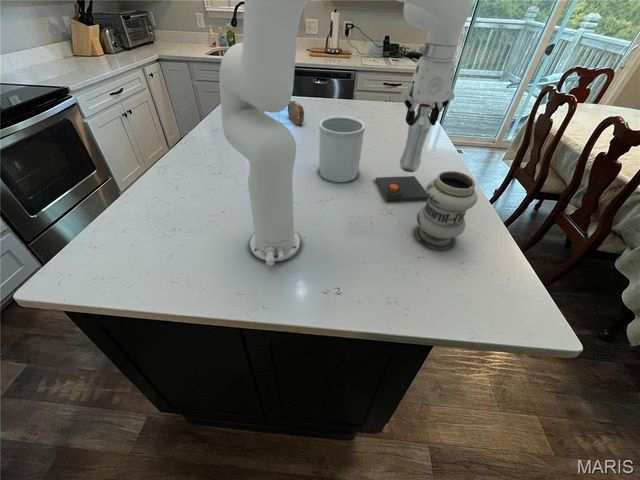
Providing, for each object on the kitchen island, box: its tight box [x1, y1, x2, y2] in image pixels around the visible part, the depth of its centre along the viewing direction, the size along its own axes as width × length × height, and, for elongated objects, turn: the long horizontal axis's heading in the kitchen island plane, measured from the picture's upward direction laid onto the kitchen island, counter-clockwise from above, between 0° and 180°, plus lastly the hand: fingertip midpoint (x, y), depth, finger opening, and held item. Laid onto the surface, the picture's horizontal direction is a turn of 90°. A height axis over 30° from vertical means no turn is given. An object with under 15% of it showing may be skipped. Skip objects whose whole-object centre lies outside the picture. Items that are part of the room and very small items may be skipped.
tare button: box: [389, 184, 398, 192], centre depth 92 cm, size 3×3×2 cm
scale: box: [374, 175, 428, 203], centre depth 97 cm, size 13×14×3 cm
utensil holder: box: [318, 115, 366, 183], centre depth 99 cm, size 15×15×18 cm
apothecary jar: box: [415, 170, 478, 250], centre depth 74 cm, size 12×12×18 cm
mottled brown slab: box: [287, 100, 305, 126], centre depth 138 cm, size 15×3×8 cm, turn 25°
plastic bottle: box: [399, 102, 432, 173], centre depth 89 cm, size 6×7×20 cm
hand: (420, 123), depth 86 cm, fingers closed on plastic bottle, 6 cm apart
